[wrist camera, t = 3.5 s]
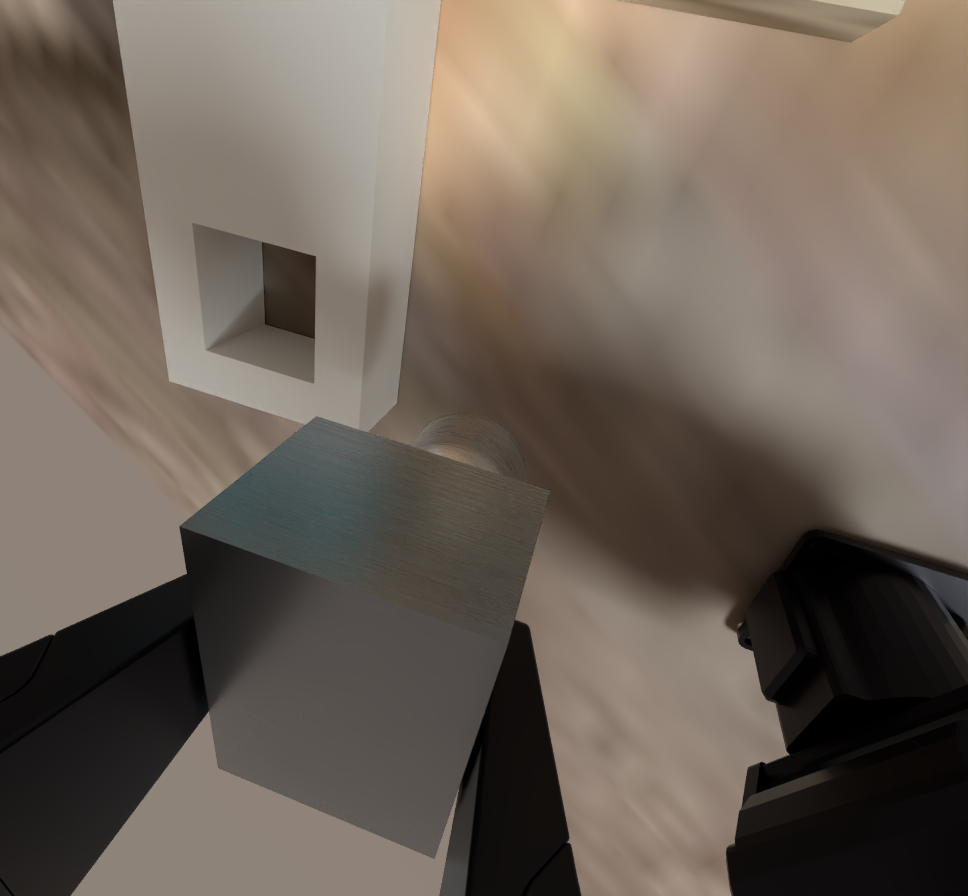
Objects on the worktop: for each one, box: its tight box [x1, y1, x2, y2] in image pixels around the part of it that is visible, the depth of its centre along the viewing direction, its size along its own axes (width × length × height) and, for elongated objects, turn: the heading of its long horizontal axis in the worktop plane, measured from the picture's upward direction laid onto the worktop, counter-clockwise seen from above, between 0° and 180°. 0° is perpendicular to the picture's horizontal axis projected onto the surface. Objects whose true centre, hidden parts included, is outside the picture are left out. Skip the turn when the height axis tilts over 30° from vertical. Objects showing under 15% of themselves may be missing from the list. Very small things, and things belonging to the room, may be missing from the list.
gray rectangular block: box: [180, 413, 550, 859], centre depth 10 cm, size 4×6×7 cm
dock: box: [113, 0, 441, 432], centre depth 15 cm, size 8×22×4 cm, turn 169°
